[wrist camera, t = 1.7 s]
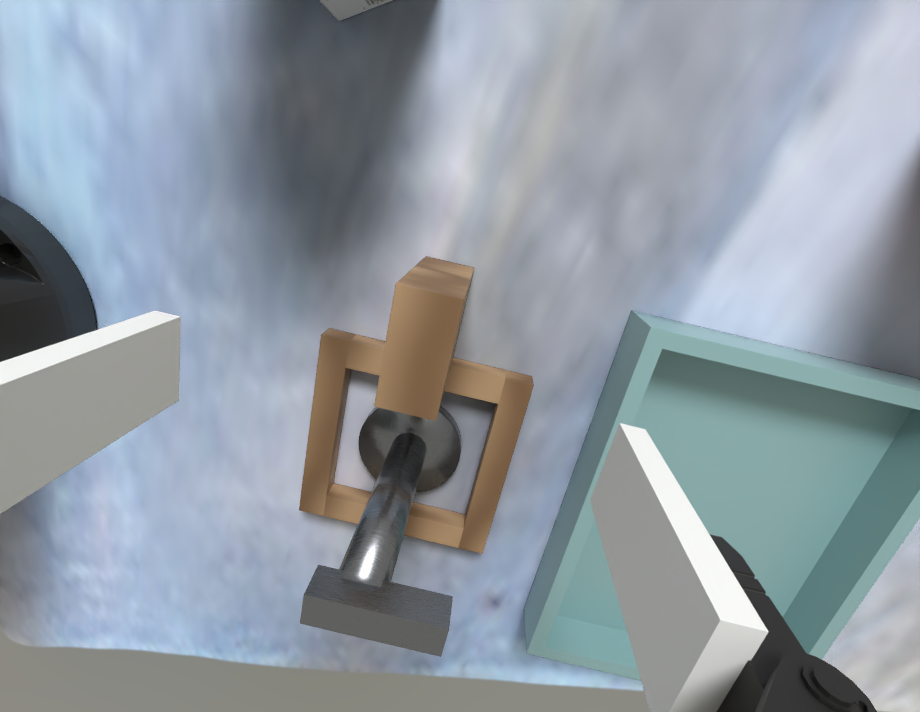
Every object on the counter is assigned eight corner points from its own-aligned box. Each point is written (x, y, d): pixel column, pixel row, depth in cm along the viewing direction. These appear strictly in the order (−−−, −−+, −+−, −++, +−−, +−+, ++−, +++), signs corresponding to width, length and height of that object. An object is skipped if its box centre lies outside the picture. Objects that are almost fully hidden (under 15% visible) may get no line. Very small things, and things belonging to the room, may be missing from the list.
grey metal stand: (356, 470, 34) (259, 660, 20) (370, 385, 32) (273, 533, 18) (456, 494, 34) (428, 700, 20) (478, 410, 32) (463, 578, 18)
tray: (523, 608, 37) (526, 653, 33) (631, 310, 29) (651, 327, 25) (756, 664, 37) (783, 714, 34) (932, 382, 29) (994, 409, 25)
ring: (307, 497, 35) (246, 594, 27) (341, 236, 28) (275, 254, 20) (482, 539, 35) (478, 649, 27) (558, 287, 28) (584, 328, 20)
